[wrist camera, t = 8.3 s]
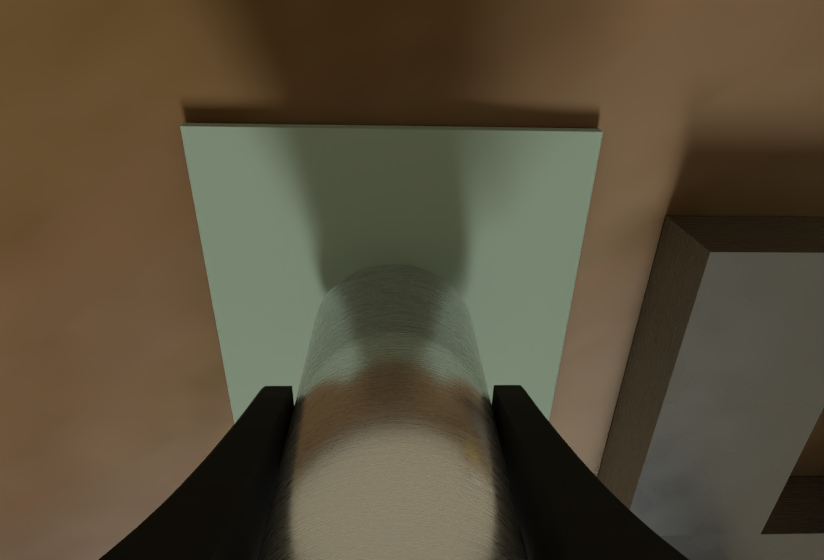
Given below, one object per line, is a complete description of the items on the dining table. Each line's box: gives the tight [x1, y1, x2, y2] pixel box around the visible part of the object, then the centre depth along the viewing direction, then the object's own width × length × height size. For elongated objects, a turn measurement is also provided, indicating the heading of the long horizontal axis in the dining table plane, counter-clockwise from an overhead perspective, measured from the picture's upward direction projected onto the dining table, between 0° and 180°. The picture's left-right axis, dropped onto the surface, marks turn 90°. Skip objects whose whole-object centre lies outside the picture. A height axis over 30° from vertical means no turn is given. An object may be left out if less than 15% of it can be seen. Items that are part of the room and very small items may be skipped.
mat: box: [180, 123, 603, 424], centre depth 17 cm, size 11×11×1 cm
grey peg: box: [257, 264, 528, 560], centre depth 11 cm, size 4×4×9 cm
